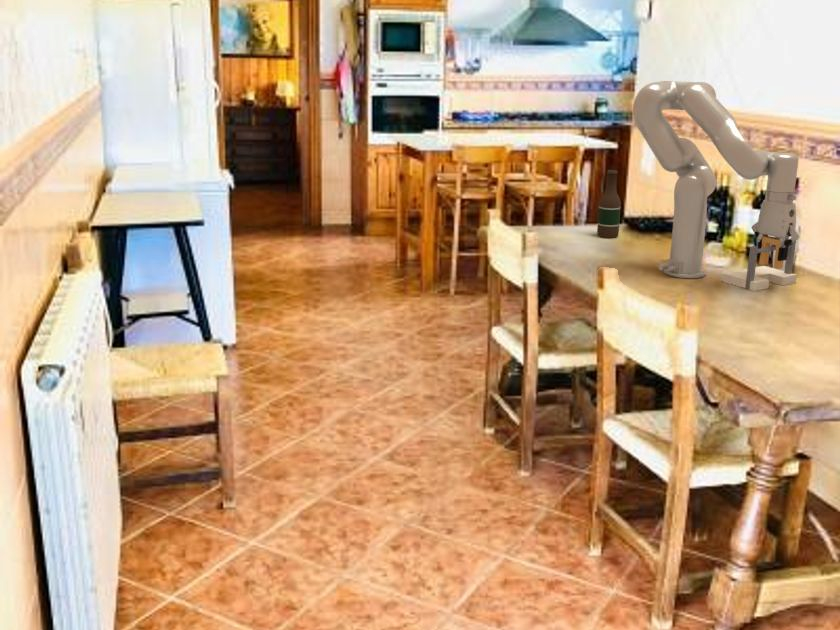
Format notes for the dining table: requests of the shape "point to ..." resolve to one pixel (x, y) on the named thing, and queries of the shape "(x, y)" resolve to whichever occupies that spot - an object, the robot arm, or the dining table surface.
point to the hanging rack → (762, 272)
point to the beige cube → (783, 261)
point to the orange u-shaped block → (765, 255)
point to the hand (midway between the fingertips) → (771, 257)
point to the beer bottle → (609, 209)
